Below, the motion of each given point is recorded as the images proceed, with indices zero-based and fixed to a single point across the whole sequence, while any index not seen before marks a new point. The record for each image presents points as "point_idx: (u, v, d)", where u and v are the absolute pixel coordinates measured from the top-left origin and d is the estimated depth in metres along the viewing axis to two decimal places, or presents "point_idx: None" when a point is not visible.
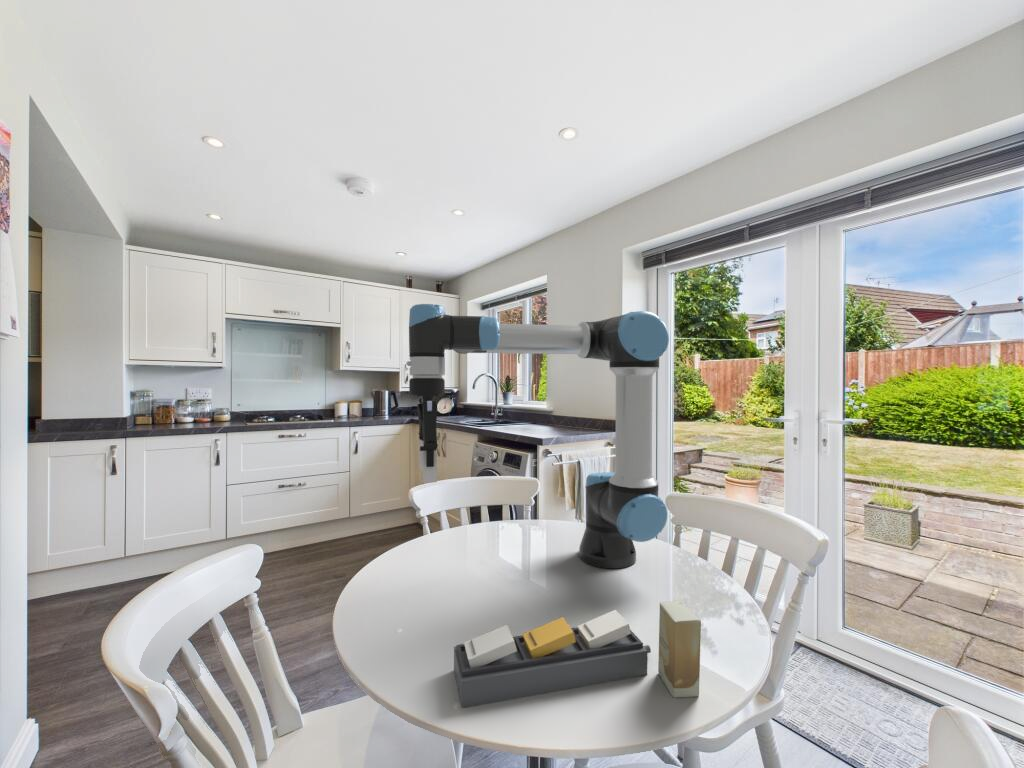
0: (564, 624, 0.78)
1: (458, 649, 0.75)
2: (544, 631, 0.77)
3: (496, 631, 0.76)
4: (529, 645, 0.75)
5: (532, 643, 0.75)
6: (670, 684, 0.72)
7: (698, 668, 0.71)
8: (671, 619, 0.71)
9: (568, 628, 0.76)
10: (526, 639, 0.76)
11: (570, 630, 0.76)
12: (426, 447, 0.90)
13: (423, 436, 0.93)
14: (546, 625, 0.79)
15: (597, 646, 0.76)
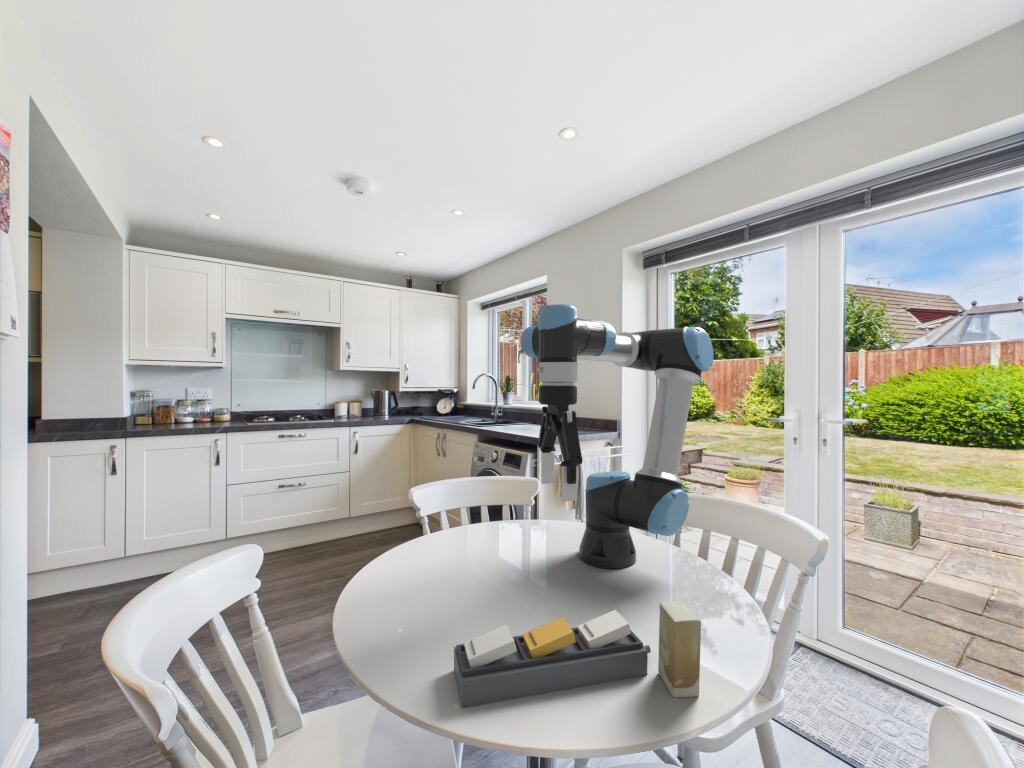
0: (564, 624, 0.78)
1: (458, 649, 0.75)
2: (544, 631, 0.77)
3: (496, 631, 0.76)
4: (529, 645, 0.75)
5: (532, 643, 0.75)
6: (670, 684, 0.72)
7: (698, 668, 0.71)
8: (671, 619, 0.71)
9: (568, 628, 0.76)
10: (526, 639, 0.76)
11: (570, 630, 0.76)
12: (571, 462, 0.81)
13: (562, 450, 0.84)
14: (546, 625, 0.79)
15: (597, 646, 0.76)
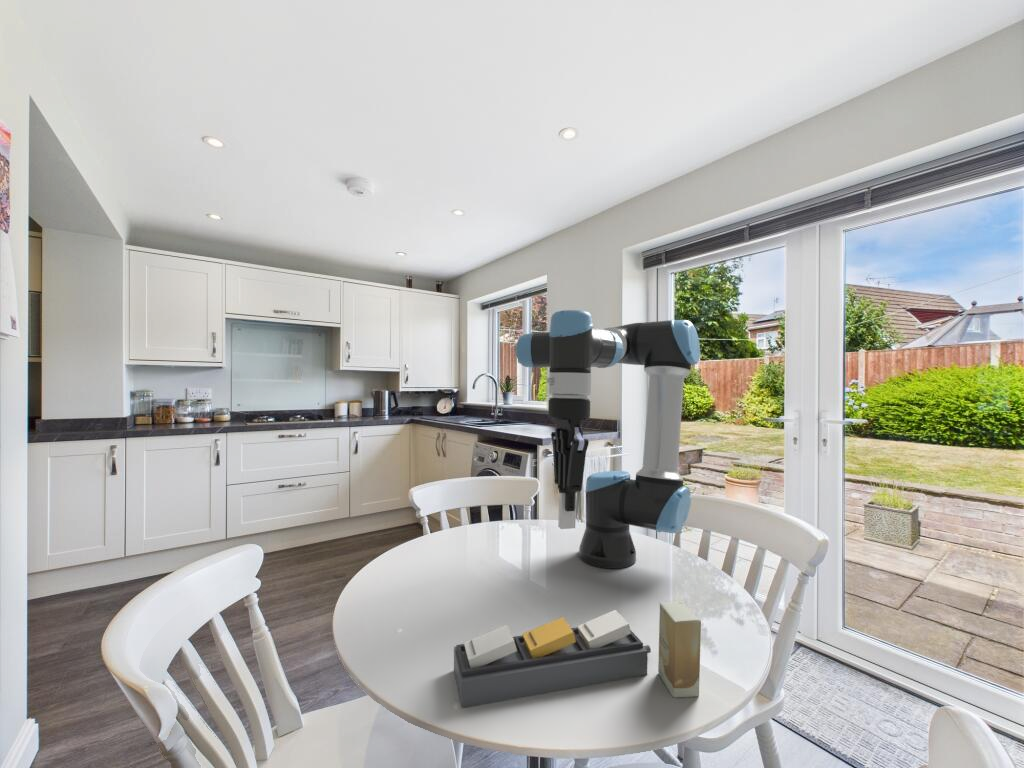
0: (564, 624, 0.78)
1: (458, 649, 0.75)
2: (544, 631, 0.77)
3: (496, 631, 0.76)
4: (529, 645, 0.75)
5: (532, 643, 0.75)
6: (670, 684, 0.72)
7: (698, 668, 0.71)
8: (671, 619, 0.71)
9: (568, 628, 0.76)
10: (526, 639, 0.76)
11: (570, 630, 0.76)
12: (570, 490, 0.79)
13: (564, 476, 0.81)
14: (546, 625, 0.79)
15: (597, 646, 0.76)
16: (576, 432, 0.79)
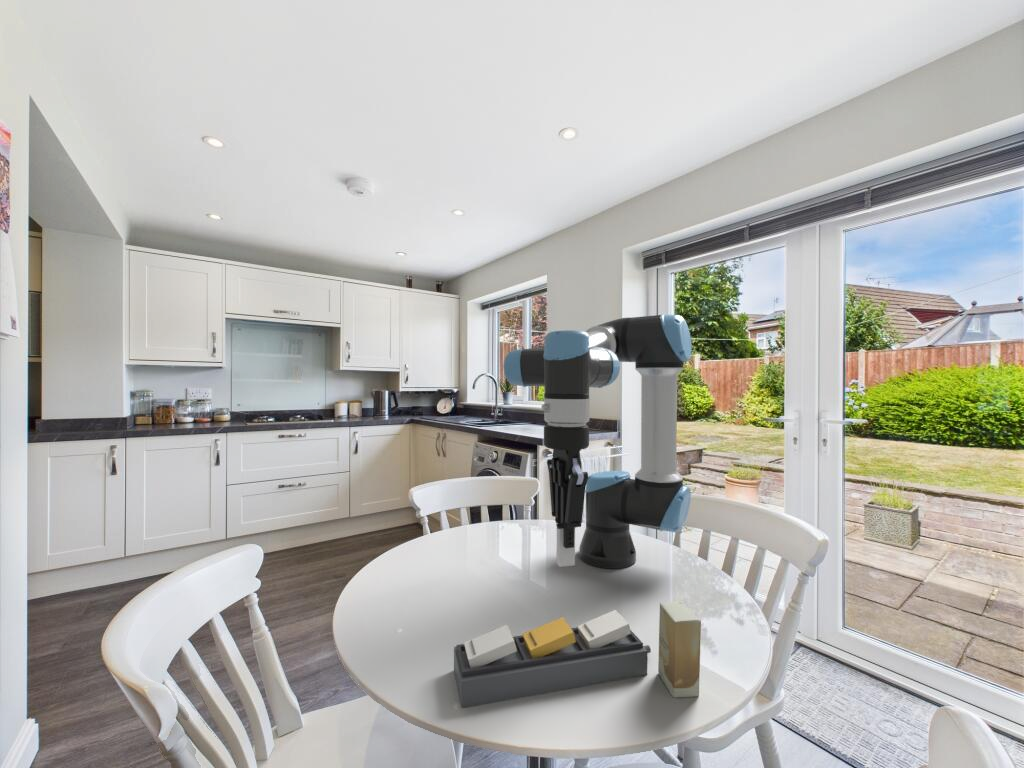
0: (564, 624, 0.78)
1: (458, 649, 0.75)
2: (544, 631, 0.77)
3: (496, 631, 0.76)
4: (529, 645, 0.75)
5: (532, 643, 0.75)
6: (670, 684, 0.72)
7: (698, 668, 0.71)
8: (671, 619, 0.71)
9: (568, 628, 0.76)
10: (526, 639, 0.76)
11: (570, 630, 0.76)
12: (569, 526, 0.73)
13: (563, 511, 0.75)
14: (546, 625, 0.79)
15: (597, 646, 0.76)
16: (574, 464, 0.73)
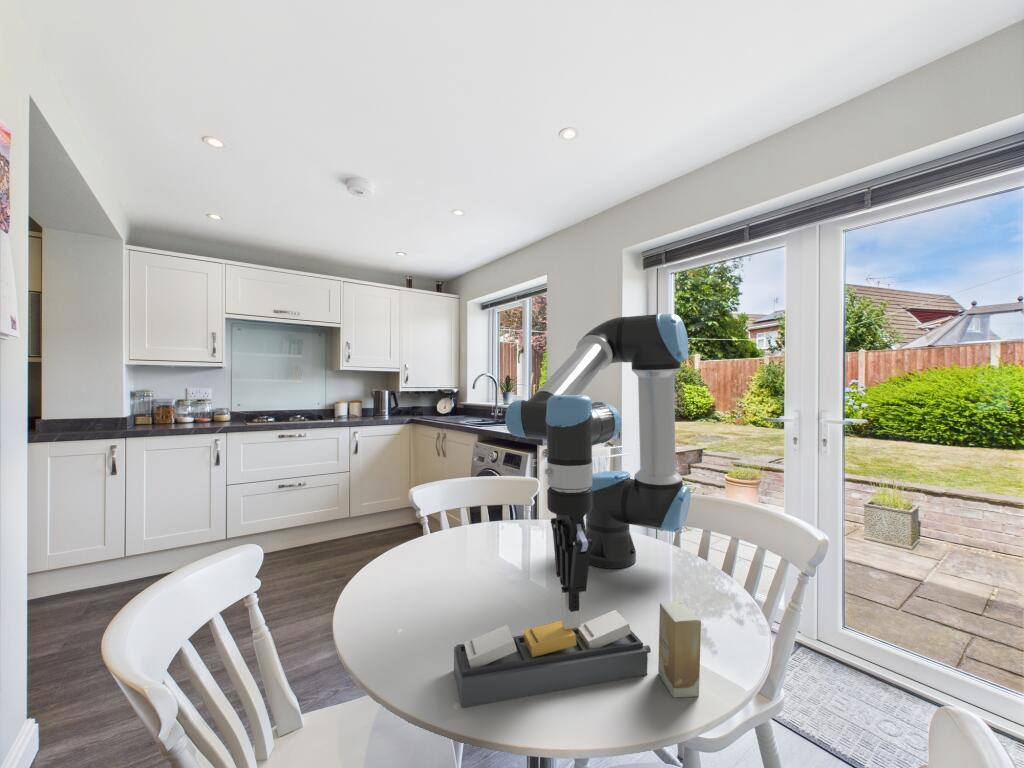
0: None
1: (458, 649, 0.75)
2: (545, 630, 0.77)
3: (496, 631, 0.76)
4: (530, 641, 0.75)
5: (533, 640, 0.75)
6: (670, 684, 0.72)
7: (698, 668, 0.71)
8: (671, 619, 0.71)
9: (570, 630, 0.76)
10: (527, 635, 0.76)
11: (572, 632, 0.76)
12: (574, 591, 0.74)
13: (567, 575, 0.75)
14: (548, 625, 0.79)
15: (597, 646, 0.76)
16: (578, 530, 0.73)
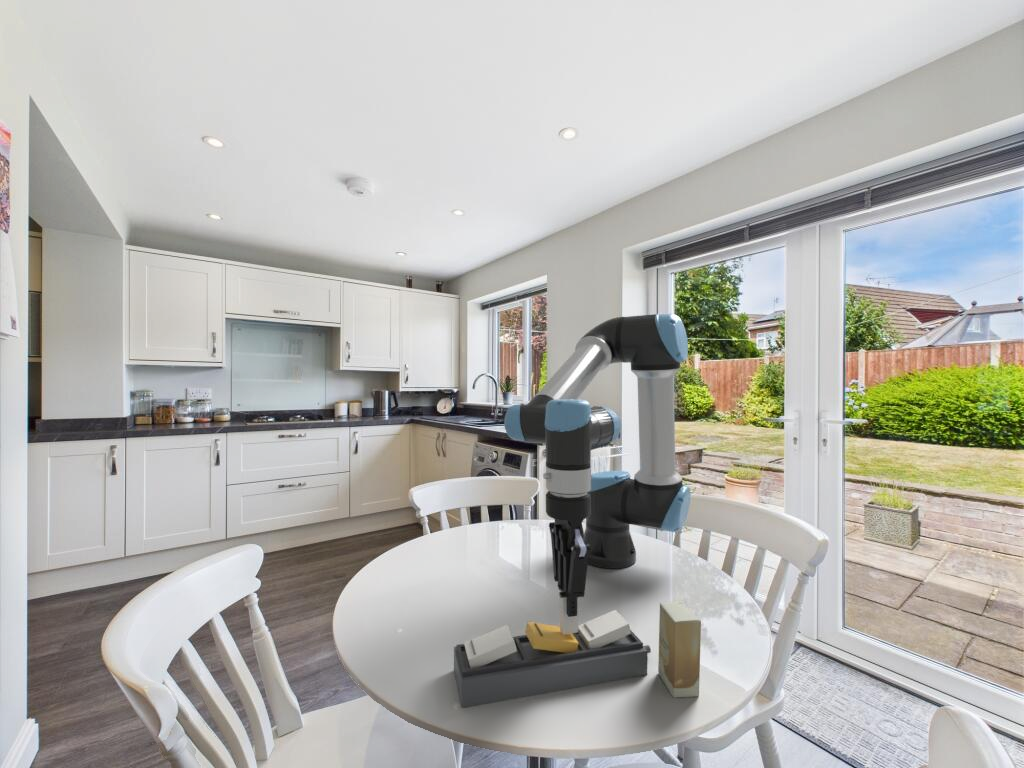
0: None
1: (458, 649, 0.75)
2: (549, 629, 0.77)
3: (496, 631, 0.76)
4: (535, 633, 0.75)
5: (538, 633, 0.75)
6: (670, 684, 0.72)
7: (698, 668, 0.71)
8: (671, 619, 0.71)
9: (573, 638, 0.77)
10: (531, 627, 0.77)
11: (575, 640, 0.76)
12: (572, 597, 0.74)
13: (565, 580, 0.75)
14: (551, 626, 0.79)
15: (597, 646, 0.76)
16: (577, 535, 0.73)
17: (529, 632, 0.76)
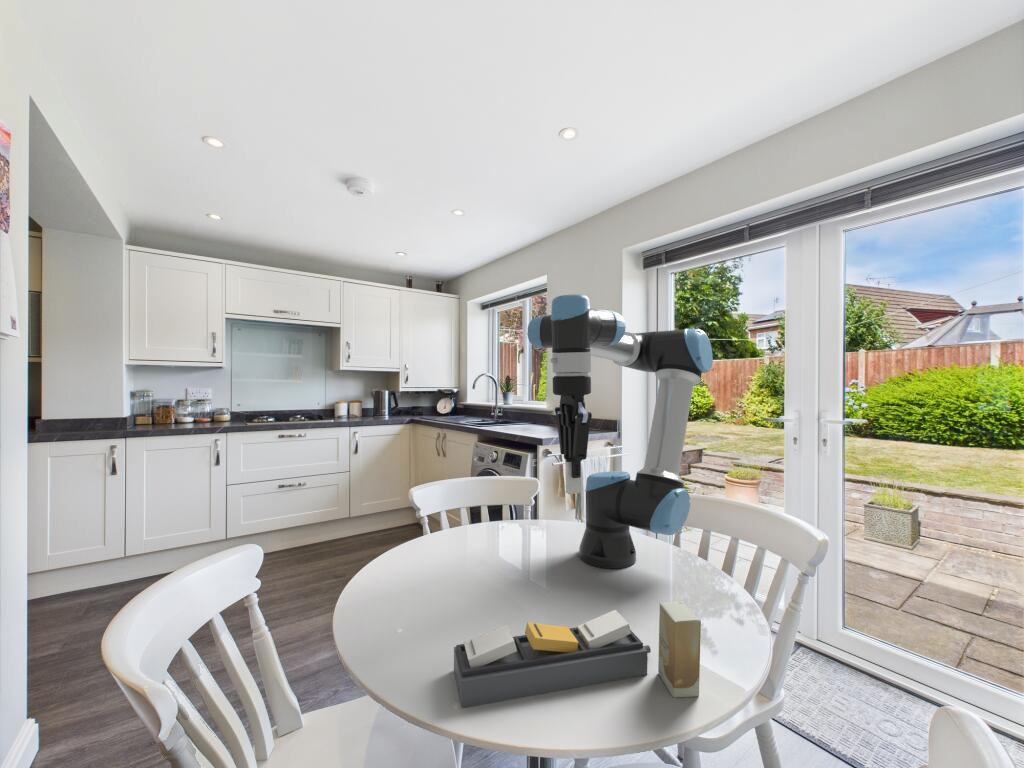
0: (569, 633, 0.78)
1: (458, 649, 0.75)
2: (549, 629, 0.77)
3: (496, 631, 0.76)
4: (534, 633, 0.75)
5: (537, 633, 0.75)
6: (670, 684, 0.72)
7: (698, 667, 0.71)
8: (671, 619, 0.71)
9: (573, 637, 0.77)
10: (531, 628, 0.77)
11: (575, 640, 0.76)
12: (576, 458, 0.88)
13: (570, 447, 0.89)
14: (551, 626, 0.79)
15: (597, 646, 0.76)
16: (580, 406, 0.87)
17: (529, 633, 0.76)
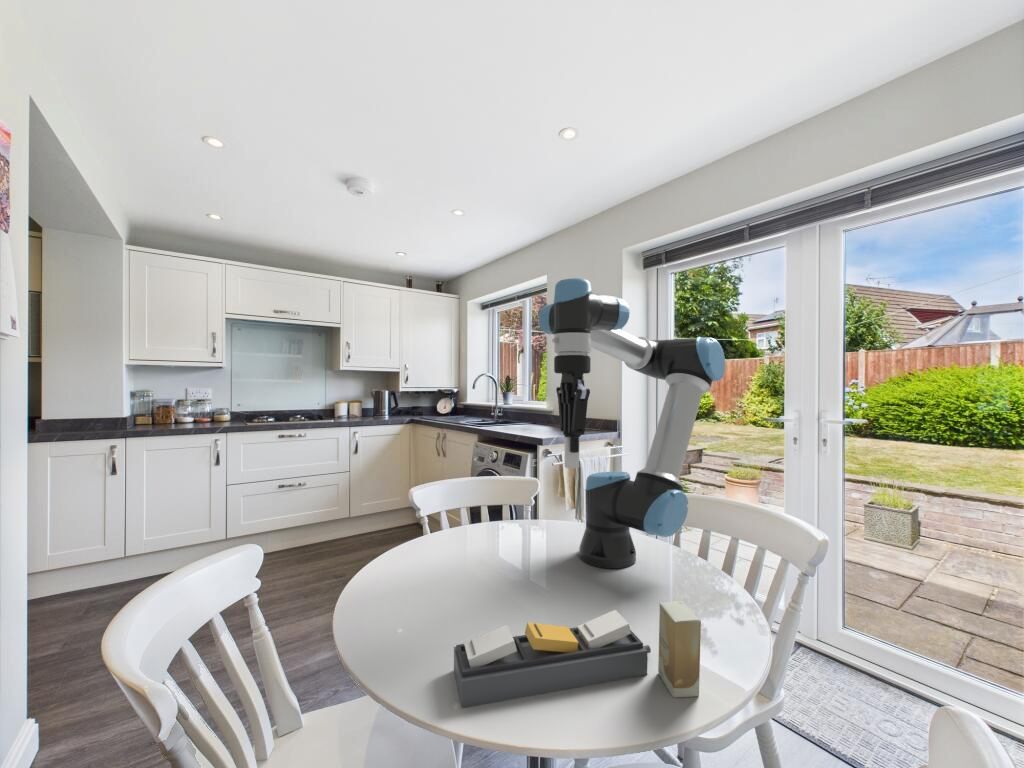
0: (569, 633, 0.78)
1: (458, 649, 0.75)
2: (549, 629, 0.77)
3: (496, 631, 0.76)
4: (534, 633, 0.75)
5: (537, 633, 0.75)
6: (670, 684, 0.72)
7: (698, 668, 0.71)
8: (671, 619, 0.71)
9: (573, 637, 0.77)
10: (531, 628, 0.77)
11: (575, 640, 0.76)
12: (574, 433, 0.93)
13: (569, 423, 0.94)
14: (551, 626, 0.79)
15: (597, 646, 0.76)
16: (579, 383, 0.92)
17: (529, 633, 0.76)
